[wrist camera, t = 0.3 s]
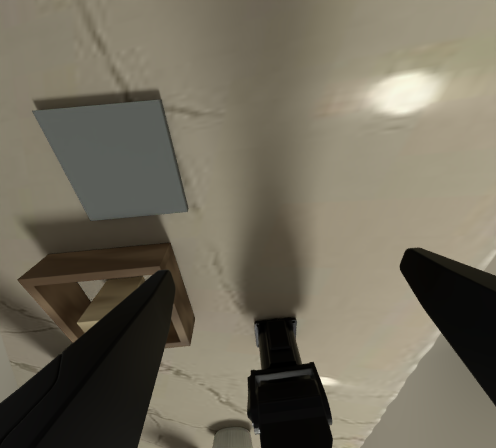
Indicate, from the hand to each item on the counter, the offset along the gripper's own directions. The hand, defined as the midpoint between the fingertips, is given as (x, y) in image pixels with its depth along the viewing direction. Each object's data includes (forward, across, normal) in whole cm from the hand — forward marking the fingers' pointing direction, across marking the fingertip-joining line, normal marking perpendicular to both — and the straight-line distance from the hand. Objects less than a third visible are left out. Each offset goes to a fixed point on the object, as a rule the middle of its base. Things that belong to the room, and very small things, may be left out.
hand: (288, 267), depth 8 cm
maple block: (+14, +17, +15) cm, 27 cm away
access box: (+14, +17, +15) cm, 27 cm away
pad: (+14, +12, -1) cm, 19 cm away
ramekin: (+15, +10, +71) cm, 73 cm away
